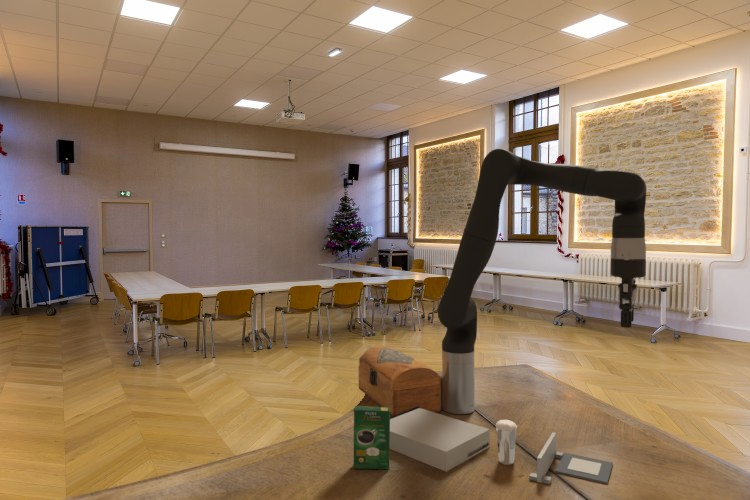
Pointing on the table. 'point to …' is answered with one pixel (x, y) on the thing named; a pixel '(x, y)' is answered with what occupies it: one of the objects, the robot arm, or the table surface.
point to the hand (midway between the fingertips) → (627, 324)
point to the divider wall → (546, 460)
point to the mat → (585, 468)
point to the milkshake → (506, 441)
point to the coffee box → (371, 437)
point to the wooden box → (398, 381)
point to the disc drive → (436, 438)
